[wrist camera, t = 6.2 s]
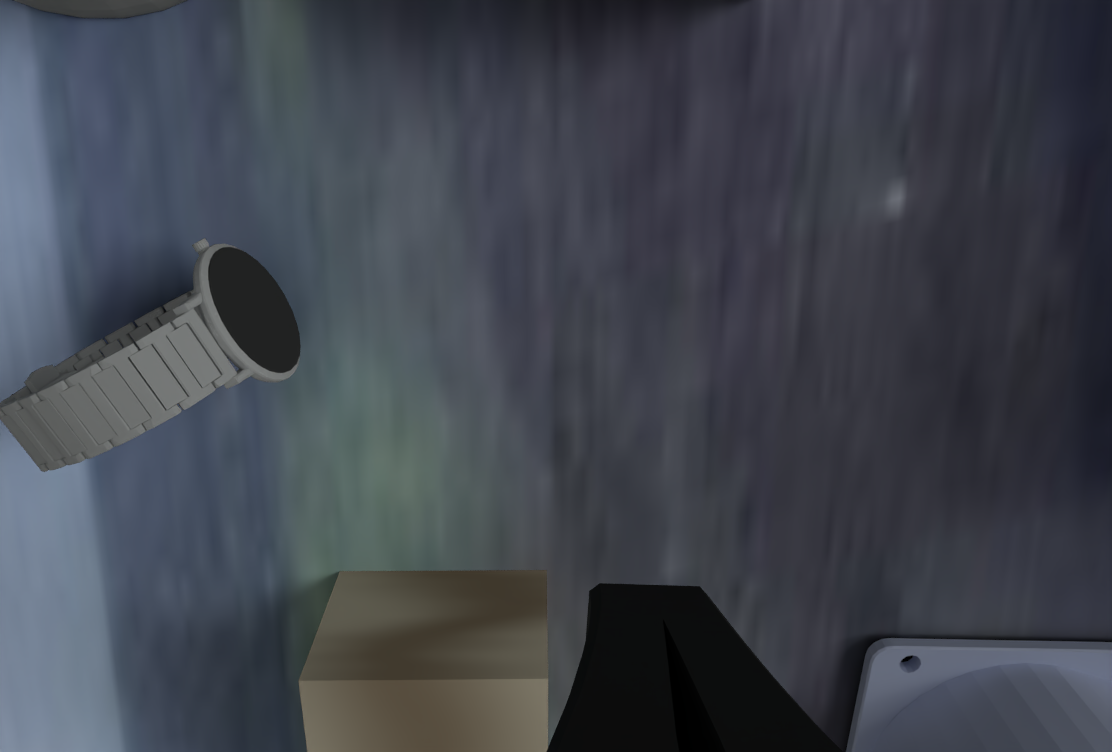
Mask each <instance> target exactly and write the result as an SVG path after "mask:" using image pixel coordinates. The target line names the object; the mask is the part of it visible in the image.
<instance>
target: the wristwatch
mask: <svg viewBox="0 0 1112 752" xmlns="http://www.w3.org/2000/svg"><path fill="white" fill-rule="evenodd" d="M192 246H193V248H194V249H195V251H196V252H198V251H199V252H198V254H199V257H198V259H197V261H196V264H195V266H194V272H193V287H194V289H193V290H191V291H190V292H187V293H185V294H183V295H181V296H179V297H177V298H175V299H173V300H172V301H170V302H168V303H166V304H165V305H163V306H164V308H165V310H166V312H165V311H164V309H163V308H162V307H161V306H160V307H159V308H156V309H155V310H153V311H151V312H149V313H147V314H145V315H144V316H142V317H140V318H138V319H137V320H135V323H136V324H137V326H138V327H137V328H136V327H135V325H134V324H133V323H132V322H131V323H129V324H127V325H126V326H124V327H122V328H120V329H118V330H116V331H115V332H113V333H111V334H109V335H107V336H106V337H105V339H106V340H107V342H108V343H109V344H106V343H105V341H104V340H103V339H101V340H98V341H97V342H95V343H93V344H92V345H90V346H88V347H86V348H85V349H83V350H81V351H79V352H78V353H76V354H75V355H74V356H72V357H69V358H68V359H66V360H64V361H63V362H61V363H60V364H58V365H56V366H55V367H53V365H50V366H45V367H42V368H40V369H38V370H36V371H34V372H32V373H31V374H30V376H29V377H28V378H27V380H26V381H25V382H24V383H25V384H26V386H25V387H23V388H22V389H20V390H19V391H17V392H16V393H14V394H12V395H11V396H10V397H9V398H7V399H5V400H3V401H2V402H1V403H0V419H1V421H2V422H3V423H4V424H5V426H6V427H7V428H8V429H9V431H10V432H11V433H12V434H13V436H14V437H15V438H16V440H17V441H18V442H19V443H20V445H21V446H22V447H23V448H24V450H25V451H26V452H27V453H28V455H29V456H30V457H31V458H32V460H33V461H34V462H35V463H36V465H37V466H38V467H39V468H40V470H41V471H44V472H45V471H48V470H55V469H58V468H61V467H64V466H66V465H72V464H76V463H79V462H82V461H84V460H85V459H86V458H87V459H89V458H92V457H94V456H97V455H99V454H101V453H104V452H106V451H108V450H110V449H111V448H113V447H114V446H115V447H116V446H119V445H121V444H123V443H125V442H127V441H129V440H131V439H133V438H135V437H137V436H139V435H141V434H142V433H144V432H145V431H147V430H150V429H152V428H154V427H156V426H158V425H160V424H161V423H163V422H165V421H167V420H169V419H170V418H172V417H174V416H176V415H177V414H179V413H180V412H181V411H182V410H181V409H180V408H179V407H178V405H177V404H179V406H180V407H181V408H182V409H183V410H185V409H187V408H189V407H191V406H192V405H194V404H195V403H197V402H198V401H200V400H201V399H203V398H205V397H206V396H208V395H209V394H211V393H212V392H213V391H215V390H216V389H215V388H218V387H220V386H222V385H223V384H224V386H225V387H226V388H227V389H228V388H230V387H232V386H234V385H237V384H239V383H240V382H242V381H243V380H245V379H246V378H248V377H250V376H251V377H253V378H255V379H257V380H261V381H264V382H279V381H283V380H285V379H288V378H289V377H290V376H291V375H292V374H293V373H294V372H295V370H296V368H297V366H298V363H299V358H300V336H299V331H298V327H297V323H296V320H295V317H294V314H293V311H292V309H291V307H290V305H289V303H288V301H287V299H286V297H285V295H284V293H283V292H282V290H281V289H280V287H279V286H278V284H277V283H276V281H275V280H274V279H273V277H272V276H271V275H270V274H269V272H268V271H267V270H266V269H265V268H264V267H263V266H262V265H261V264H260V263H259V262H258V261H257V260H256V259H254V258H253V257H252V256H250V255H249V254H247V253H246V252H244V251H242V250H240V249H238V248H236V247H234V246H231V245H227V244H215V245H212V246H210V247H209V244H208V242H207V241H206V239H205V238H204V239H202V240H200V241H199V242H197V243H195V244H193V245H192ZM207 246H208V247H207ZM200 250H201V251H200ZM146 323H147V324H148V325H149V327H150V328H151V330H152V331H151V330H150V329H149V327H148V326H147V324H146ZM128 333H129V334H130V335H129V334H128ZM130 336H131V337H132V338H131V337H130ZM117 339H118V340H119V342H120V343H121V344H122V346H123V347H124V348H122V346H121V345H120V343H119V342H118V341H117ZM132 339H133V340H134V341H135V342H134V341H133V340H132ZM135 343H136V344H137V345H136V344H135ZM137 346H138V347H139V348H138V347H137ZM99 349H100V351H101V352H102V354H103V355H104V356H105V358H104V356H103V355H102V354H101V352H100V351H99ZM139 349H140V350H139ZM225 355H226V356H227V357H228V358H229V359H230V360H231V361H232V362H233V363H234V364H235V365H236V366H237V367H238V368H239V370H237V371H235V369H234V368H233V366H232V365H231V363H230V362H229V360H228V359H227V357H226V356H225Z"/></svg>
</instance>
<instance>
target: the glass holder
mask: <svg viewBox="0 0 1112 752" xmlns="http://www.w3.org/2000/svg"><path fill="white" fill-rule="evenodd" d="M14 1H17V2H19V3H22V4H25V5H28V6H30V7H33V8H36V9H39V10H42V11H47V12H52V13H58V14H64V15H69V16H75V17H81V18H127V17H132V16H137V15H142V14H147V13H152V12H157V11H162V10H165V9H168V8H170V7H172V6H175V5H177V4H180V3H182V2H184V1H187V0H14Z"/></svg>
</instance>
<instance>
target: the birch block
mask: <svg viewBox="0 0 1112 752" xmlns="http://www.w3.org/2000/svg"><path fill="white" fill-rule="evenodd" d="M299 688H300V696H301V704H302V712H303V721H304V729H305V737H306V745H307V752H547V749H548V636H547V570H489V571H340V572H339V574H338V577H337V580H336V582H335V585H334V588H333V590H332V593H331V596H330V598H329V601H328V604H327V606H326V609H325V612H324V614H323V617H322V620H321V622H320V625H319V628H318V630H317V633H316V636H315V638H314V641H313V644H312V646H311V649H310V652H309V654H308V657H307V660H306V662H305V665H304V668H303V670H302V673H301V676H300V678H299Z"/></svg>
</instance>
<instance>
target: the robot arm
mask: <svg viewBox="0 0 1112 752" xmlns="http://www.w3.org/2000/svg"><path fill="white" fill-rule="evenodd" d="M911 655H913V658H912V659H910V660H909V661H906V662H901V660H902V659H904V658H905V657H906V656H911ZM547 752H842V751H841V750H840V749H839V748H838V747H837V746H836V745H835V744H834V743H833V742H832V741H831V740H830V739H829V738H828V737H827V736H826V735H825V733H824V732H823V731H822V730H821V729H820V728H819V727H818V726H817V725H816V724H815V723H814V722H813V721H812V720H811V718H810V717H809V716H808V715H807V714H806V713H805V712H804V711H803V710H802V709H801V707H800V706H799V705H798V704H797V703H796V702H795V701H794V700H793V698H792V697H791V696H790V695H789V694H788V693H787V692H786V691H785V689H784V688H783V687H782V686H781V685H780V684H779V683H778V681H777V680H776V679H775V678H774V677H773V676H772V675H771V673H770V672H769V671H768V670H767V669H766V668H765V666H764V665H763V664H762V663H761V662H760V660H759V659H758V658H757V657H756V656H755V654H754V653H753V652H752V651H751V649H750V648H749V647H748V646H747V645H746V643H745V642H744V641H743V640H742V638H741V637H740V636H739V635H738V633H737V632H736V631H735V630H734V628H733V627H732V626H731V625H730V623H729V622H728V621H727V619H726V618H725V617H724V616H723V614H722V613H721V612H720V611H719V609H718V608H717V607H716V605H715V604H714V603H713V602H712V600H711V599H710V598H709V597H708V595H707V594H706V593H705V592H704V591H703V590H702V589H701V587H700V586H668V585H635V584H602V583H599V584H598V585H597V586H596V587H594V588H593V589H592V590H590V591H589V604H588V617H587V631H586V642H585V646H584V650H583V654H582V658H581V661H580V664H579V667H578V670H577V674H576V677H575V680H574V683H573V686H572V689H571V693H570V695H569V698H568V701H567V704H566V706H565V709H564V711H563V713H562V716H561V718H560V721H559V723H558V725H557V728H556V730H555V733H554V735H553V737H552V740H551V742H550V745H549V747H548V749H547ZM846 752H1112V642H1075V641H1021V640H966V639H912V638H886V639H880V640H878V641H876V642H874V643H873V644H872V645H871V646H870V647H869V648H868V650H867V652H866V654H865V659H864V664H863V669H862V674H861V679H860V684H859V689H858V694H857V699H856V704H855V709H854V714H853V719H852V724H851V729H850V734H849V739H848V744H847V749H846Z"/></svg>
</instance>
